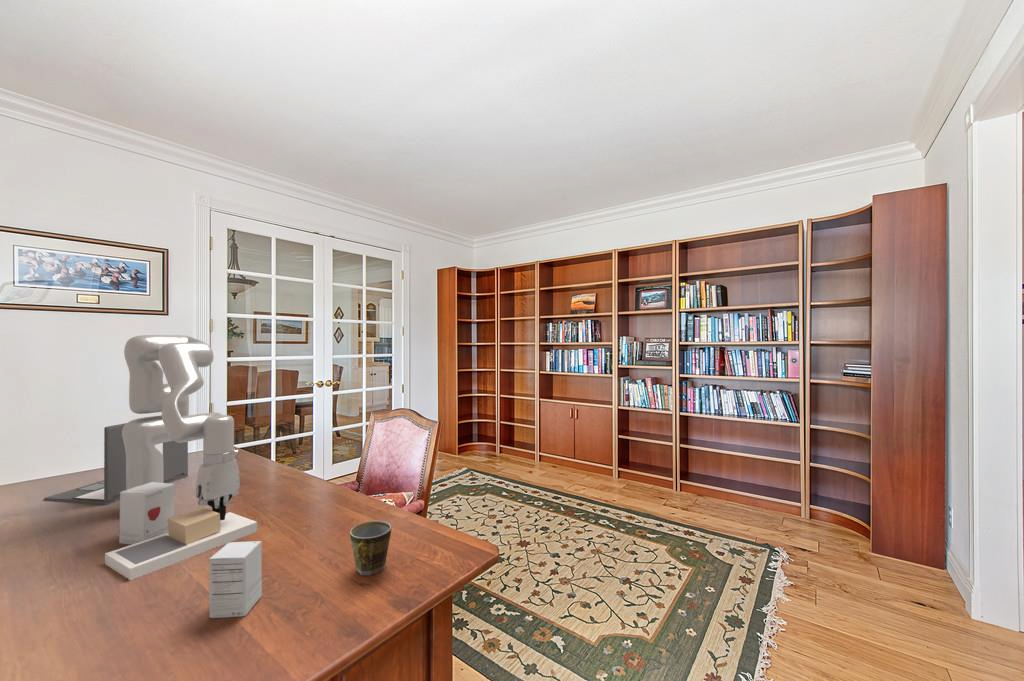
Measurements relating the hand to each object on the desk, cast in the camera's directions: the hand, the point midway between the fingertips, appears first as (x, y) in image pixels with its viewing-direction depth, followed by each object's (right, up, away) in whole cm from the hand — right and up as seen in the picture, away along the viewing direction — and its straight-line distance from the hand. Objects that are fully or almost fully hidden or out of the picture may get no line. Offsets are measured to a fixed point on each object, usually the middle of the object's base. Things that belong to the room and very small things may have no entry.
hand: (219, 519), depth 125 cm
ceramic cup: (+51, -5, -19) cm, 55 cm away
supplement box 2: (+27, -5, -33) cm, 43 cm away
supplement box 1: (-20, -5, -2) cm, 20 cm away
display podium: (-4, -5, -7) cm, 9 cm away
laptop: (-65, -5, +39) cm, 76 cm away
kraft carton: (-3, -2, -6) cm, 6 cm away
